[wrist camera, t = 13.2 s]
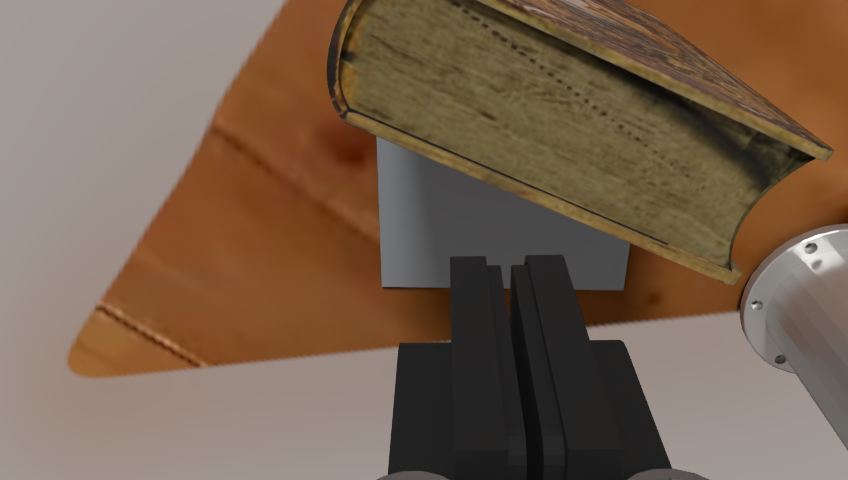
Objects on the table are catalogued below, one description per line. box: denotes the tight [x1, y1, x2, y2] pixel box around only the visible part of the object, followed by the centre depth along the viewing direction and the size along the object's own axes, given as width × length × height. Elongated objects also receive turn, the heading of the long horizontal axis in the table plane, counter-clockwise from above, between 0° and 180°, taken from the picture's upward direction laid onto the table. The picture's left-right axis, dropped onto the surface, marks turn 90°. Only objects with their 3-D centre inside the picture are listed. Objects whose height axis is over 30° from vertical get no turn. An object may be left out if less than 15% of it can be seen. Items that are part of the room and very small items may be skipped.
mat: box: [377, 137, 630, 290], centre depth 51 cm, size 18×14×1 cm
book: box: [327, 0, 834, 285], centre depth 34 cm, size 16×6×25 cm, turn 67°
